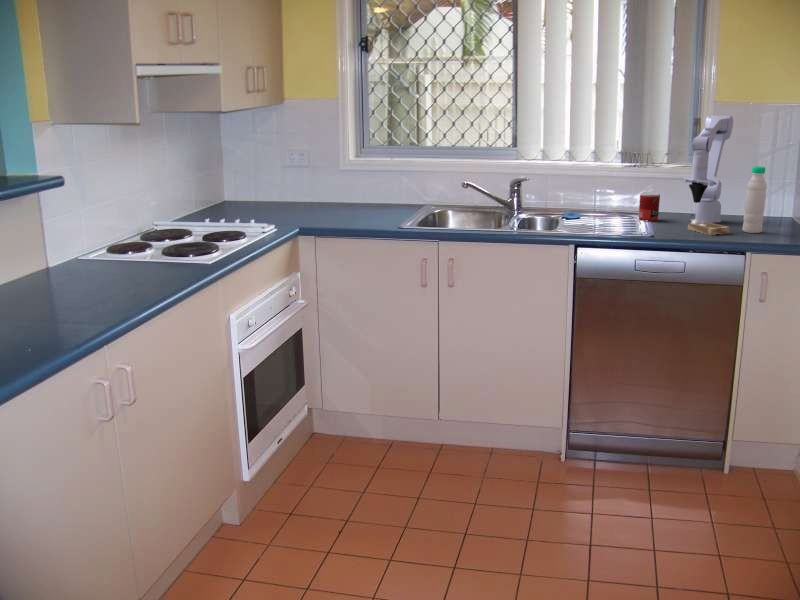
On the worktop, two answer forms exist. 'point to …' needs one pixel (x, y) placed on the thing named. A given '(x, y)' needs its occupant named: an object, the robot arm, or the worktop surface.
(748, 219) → the water bottle
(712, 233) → the cradle
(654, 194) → the canned food
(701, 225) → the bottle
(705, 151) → the robot arm
